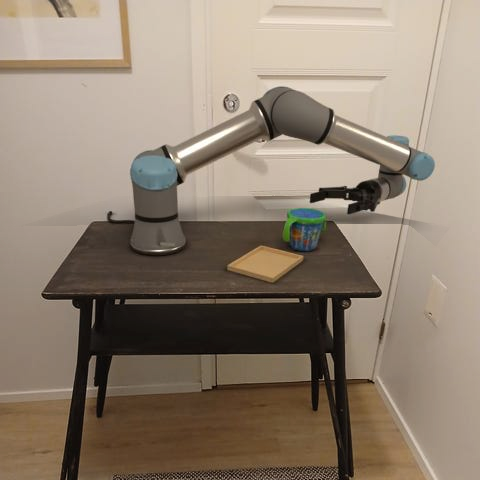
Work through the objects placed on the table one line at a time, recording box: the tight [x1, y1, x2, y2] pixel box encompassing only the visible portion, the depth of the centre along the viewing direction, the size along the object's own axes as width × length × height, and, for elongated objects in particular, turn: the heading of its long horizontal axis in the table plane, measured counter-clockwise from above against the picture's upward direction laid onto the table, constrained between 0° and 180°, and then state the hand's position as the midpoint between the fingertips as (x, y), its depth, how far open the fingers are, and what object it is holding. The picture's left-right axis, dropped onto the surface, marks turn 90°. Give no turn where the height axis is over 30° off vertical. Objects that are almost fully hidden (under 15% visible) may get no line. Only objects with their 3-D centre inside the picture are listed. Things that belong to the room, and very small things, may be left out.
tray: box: [226, 245, 304, 284], centre depth 127 cm, size 13×17×1 cm
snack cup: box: [281, 207, 327, 253], centre depth 136 cm, size 16×10×10 cm
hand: (329, 203), depth 140 cm, fingers open, 13 cm apart
